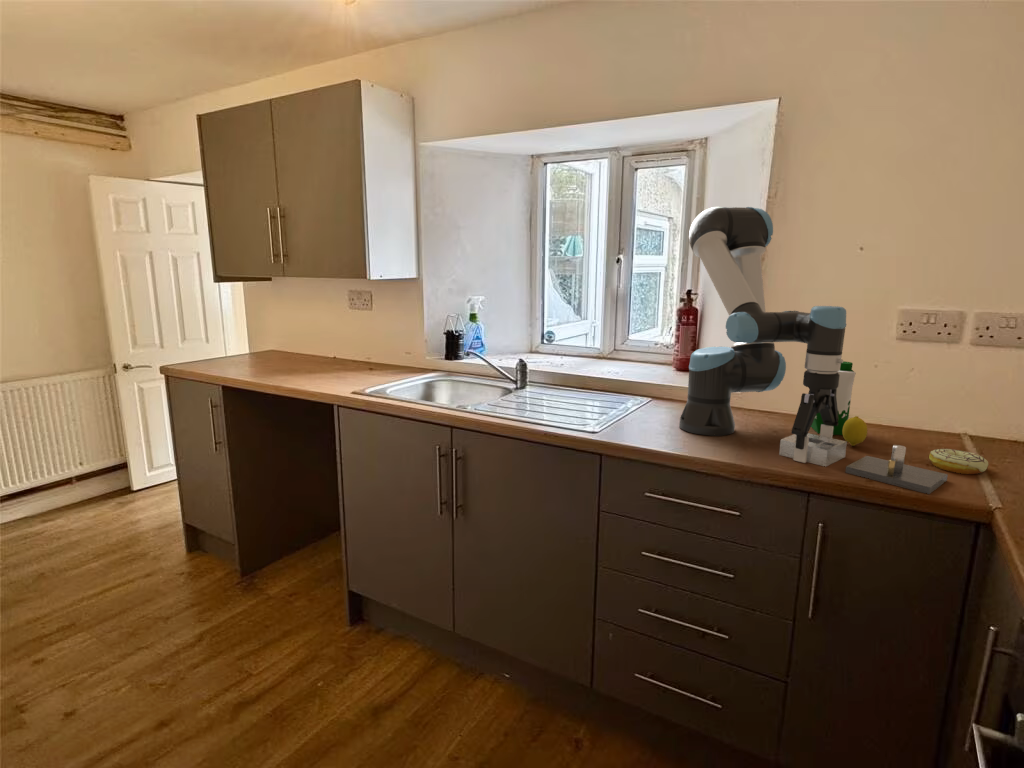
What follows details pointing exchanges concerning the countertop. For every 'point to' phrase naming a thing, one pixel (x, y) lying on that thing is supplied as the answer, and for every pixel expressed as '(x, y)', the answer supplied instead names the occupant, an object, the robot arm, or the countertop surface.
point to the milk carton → (840, 399)
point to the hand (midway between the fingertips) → (812, 455)
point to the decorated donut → (958, 461)
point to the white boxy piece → (816, 449)
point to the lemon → (854, 430)
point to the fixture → (897, 472)
